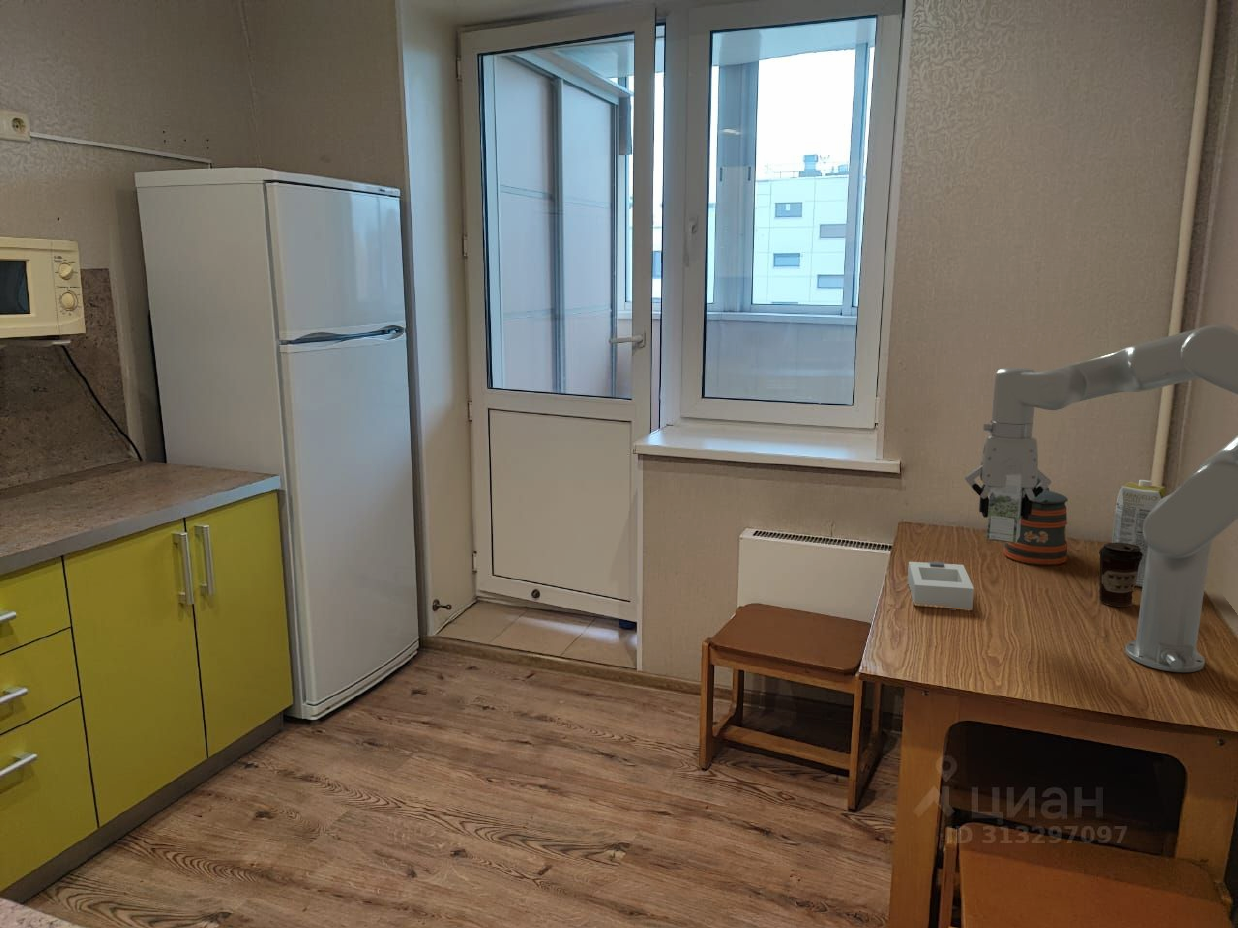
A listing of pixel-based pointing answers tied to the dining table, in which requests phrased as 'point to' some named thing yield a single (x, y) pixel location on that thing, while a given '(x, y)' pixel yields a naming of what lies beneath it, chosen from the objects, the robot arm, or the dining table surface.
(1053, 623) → the dining table surface
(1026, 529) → the beer stein
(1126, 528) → the juice carton
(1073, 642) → the dining table surface
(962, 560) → the dining table surface
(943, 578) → the socket block
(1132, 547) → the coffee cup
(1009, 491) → the syrup box
